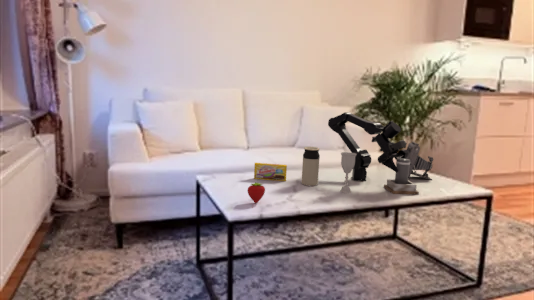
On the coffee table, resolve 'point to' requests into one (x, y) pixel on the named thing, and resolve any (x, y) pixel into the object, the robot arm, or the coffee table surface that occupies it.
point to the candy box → (270, 171)
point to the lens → (402, 171)
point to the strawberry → (256, 191)
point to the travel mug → (310, 166)
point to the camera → (418, 161)
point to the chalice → (347, 168)
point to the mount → (401, 187)
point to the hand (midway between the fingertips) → (402, 170)
